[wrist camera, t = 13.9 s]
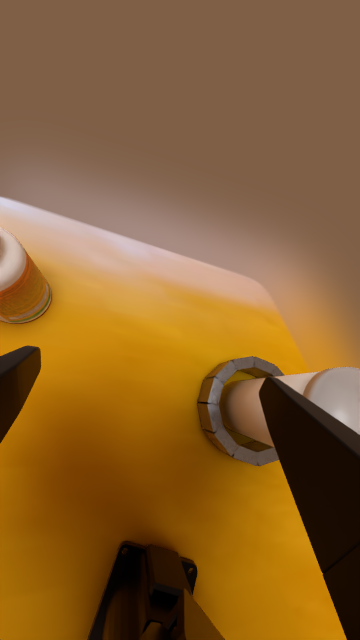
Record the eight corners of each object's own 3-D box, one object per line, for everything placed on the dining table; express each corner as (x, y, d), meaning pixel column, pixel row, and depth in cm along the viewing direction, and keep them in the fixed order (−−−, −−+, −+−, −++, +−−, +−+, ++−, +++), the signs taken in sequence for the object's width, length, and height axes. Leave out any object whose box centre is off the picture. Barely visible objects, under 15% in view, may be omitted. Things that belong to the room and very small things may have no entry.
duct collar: (270, 468, 22) (292, 478, 19) (186, 437, 21) (196, 444, 18) (284, 379, 25) (304, 377, 22) (212, 349, 24) (223, 343, 21)
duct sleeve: (242, 446, 22) (378, 514, 10) (206, 404, 22) (292, 419, 10) (272, 407, 24) (420, 423, 11) (238, 369, 24) (345, 346, 12)
